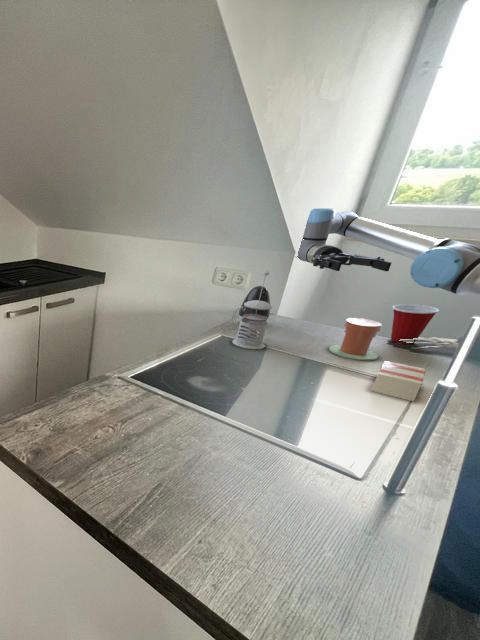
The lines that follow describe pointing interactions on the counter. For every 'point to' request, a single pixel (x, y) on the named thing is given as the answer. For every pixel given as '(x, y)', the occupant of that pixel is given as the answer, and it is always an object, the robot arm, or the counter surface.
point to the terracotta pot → (359, 335)
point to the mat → (368, 356)
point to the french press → (252, 324)
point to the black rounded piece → (255, 295)
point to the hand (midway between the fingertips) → (363, 266)
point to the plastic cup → (410, 321)
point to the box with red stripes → (399, 380)
